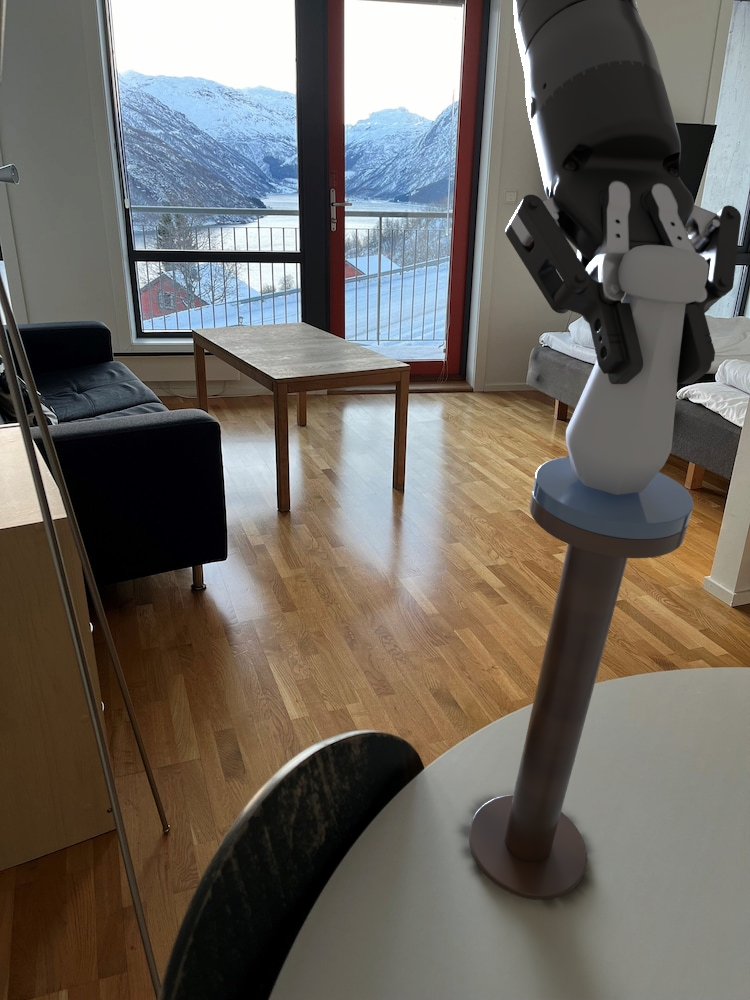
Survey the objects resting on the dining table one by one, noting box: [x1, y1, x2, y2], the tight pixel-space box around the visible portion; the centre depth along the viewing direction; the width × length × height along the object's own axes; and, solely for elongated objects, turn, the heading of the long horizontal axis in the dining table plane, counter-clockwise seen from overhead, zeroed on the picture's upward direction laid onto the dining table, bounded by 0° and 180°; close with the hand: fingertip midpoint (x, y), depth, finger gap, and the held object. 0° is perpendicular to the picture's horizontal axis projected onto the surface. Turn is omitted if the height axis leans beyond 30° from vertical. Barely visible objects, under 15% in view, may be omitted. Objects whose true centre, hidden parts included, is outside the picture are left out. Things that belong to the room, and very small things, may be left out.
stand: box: [468, 490, 690, 901], centre depth 51 cm, size 9×9×31 cm
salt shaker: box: [565, 245, 709, 495], centre depth 40 cm, size 6×6×13 cm
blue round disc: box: [532, 456, 694, 539], centre depth 43 cm, size 9×9×1 cm
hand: (661, 376), depth 38 cm, fingers closed on salt shaker, 3 cm apart
